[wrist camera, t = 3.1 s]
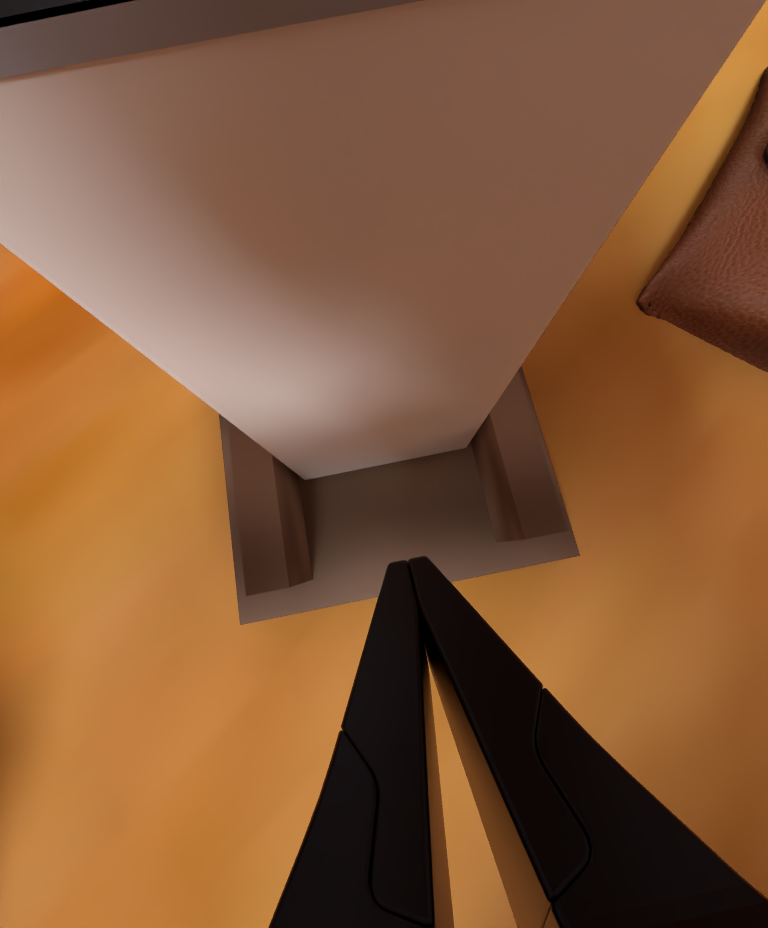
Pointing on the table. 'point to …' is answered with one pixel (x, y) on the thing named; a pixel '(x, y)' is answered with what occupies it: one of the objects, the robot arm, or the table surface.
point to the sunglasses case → (724, 253)
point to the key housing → (392, 515)
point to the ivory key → (338, 190)
